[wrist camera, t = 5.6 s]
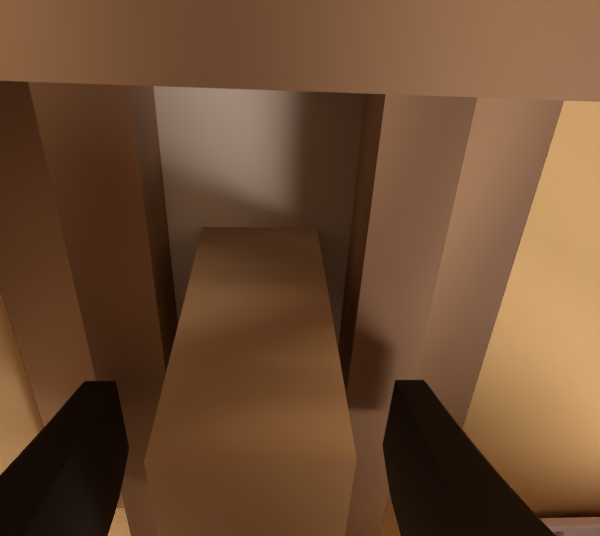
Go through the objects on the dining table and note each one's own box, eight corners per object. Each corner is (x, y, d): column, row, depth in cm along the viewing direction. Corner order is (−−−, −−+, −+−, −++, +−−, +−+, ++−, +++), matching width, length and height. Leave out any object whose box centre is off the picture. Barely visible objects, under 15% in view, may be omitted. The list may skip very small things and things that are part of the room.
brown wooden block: (319, 228, 11) (360, 458, 6) (304, 441, 15) (322, 696, 10) (200, 226, 11) (140, 461, 6) (215, 442, 15) (185, 702, 10)
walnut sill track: (583, -42, 9) (841, -42, 5) (432, 480, 18) (484, 647, 13) (-90, -80, 9) (-437, -114, 4) (78, 486, 17) (13, 666, 12)
